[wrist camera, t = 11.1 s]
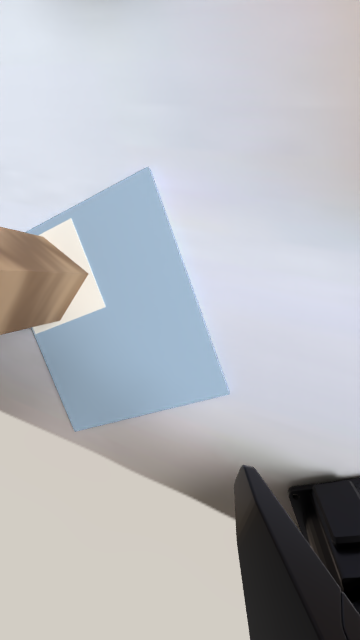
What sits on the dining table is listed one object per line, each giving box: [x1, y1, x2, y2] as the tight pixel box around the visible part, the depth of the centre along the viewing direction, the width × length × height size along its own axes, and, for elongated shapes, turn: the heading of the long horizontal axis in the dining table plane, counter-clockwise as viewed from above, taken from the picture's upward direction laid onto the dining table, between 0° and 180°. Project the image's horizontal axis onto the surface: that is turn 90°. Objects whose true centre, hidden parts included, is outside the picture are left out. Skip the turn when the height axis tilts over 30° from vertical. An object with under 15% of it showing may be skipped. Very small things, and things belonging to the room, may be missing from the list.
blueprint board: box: [25, 167, 230, 432], centre depth 20 cm, size 18×15×1 cm
